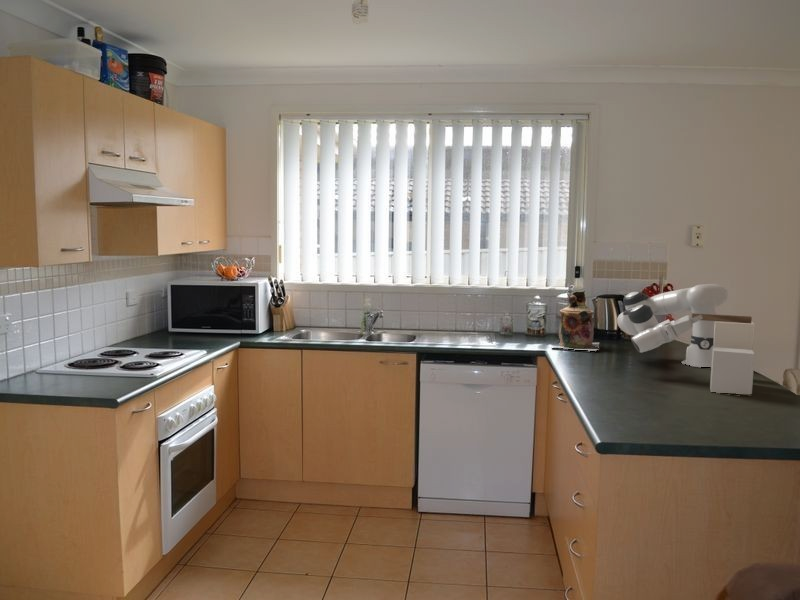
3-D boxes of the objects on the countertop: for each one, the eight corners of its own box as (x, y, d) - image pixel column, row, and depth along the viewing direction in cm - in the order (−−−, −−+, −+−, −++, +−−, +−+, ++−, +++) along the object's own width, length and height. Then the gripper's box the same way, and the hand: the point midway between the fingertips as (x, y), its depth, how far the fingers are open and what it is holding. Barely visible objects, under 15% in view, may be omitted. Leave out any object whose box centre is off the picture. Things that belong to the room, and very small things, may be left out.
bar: (691, 318, 275) (692, 313, 274) (750, 322, 266) (751, 316, 266) (691, 319, 272) (692, 313, 272) (751, 323, 263) (751, 317, 263)
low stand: (709, 387, 262) (712, 347, 261) (749, 391, 257) (752, 350, 255) (710, 392, 253) (713, 350, 252) (751, 396, 248) (754, 353, 246)
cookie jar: (554, 343, 370) (556, 287, 367) (599, 346, 362) (602, 289, 360) (550, 350, 347) (553, 290, 344) (598, 353, 339) (601, 292, 336)
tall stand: (710, 380, 277) (714, 319, 274) (748, 383, 271) (752, 321, 269) (711, 384, 267) (716, 322, 265) (750, 388, 262) (754, 324, 260)
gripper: (673, 333, 286) (704, 319, 281) (673, 339, 267) (706, 325, 262) (666, 320, 287) (697, 306, 281) (665, 326, 268) (698, 311, 263)
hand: (701, 315), depth 272 cm, fingers closed on bar, 3 cm apart
